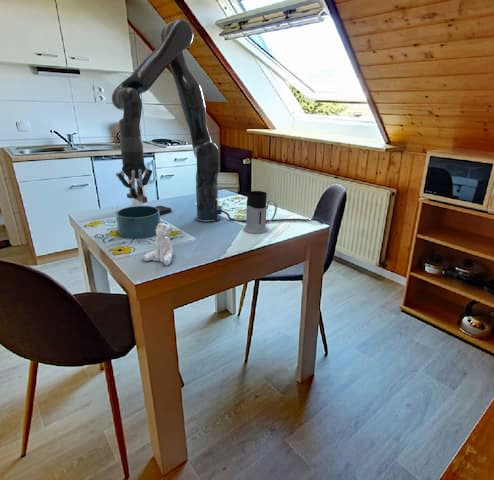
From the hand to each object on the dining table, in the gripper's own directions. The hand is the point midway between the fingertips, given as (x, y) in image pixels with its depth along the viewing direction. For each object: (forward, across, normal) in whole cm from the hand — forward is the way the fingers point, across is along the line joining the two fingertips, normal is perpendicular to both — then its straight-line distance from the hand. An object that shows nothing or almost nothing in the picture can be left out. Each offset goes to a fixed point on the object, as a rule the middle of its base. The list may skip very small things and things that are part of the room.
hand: (137, 197), depth 127 cm
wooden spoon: (+1, 0, -1) cm, 1 cm away
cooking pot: (+15, +1, +4) cm, 15 cm away
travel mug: (+15, +40, -25) cm, 49 cm away
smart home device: (+15, +13, +22) cm, 29 cm away
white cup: (+15, +14, +35) cm, 41 cm away
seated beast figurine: (+15, -4, -24) cm, 29 cm away
